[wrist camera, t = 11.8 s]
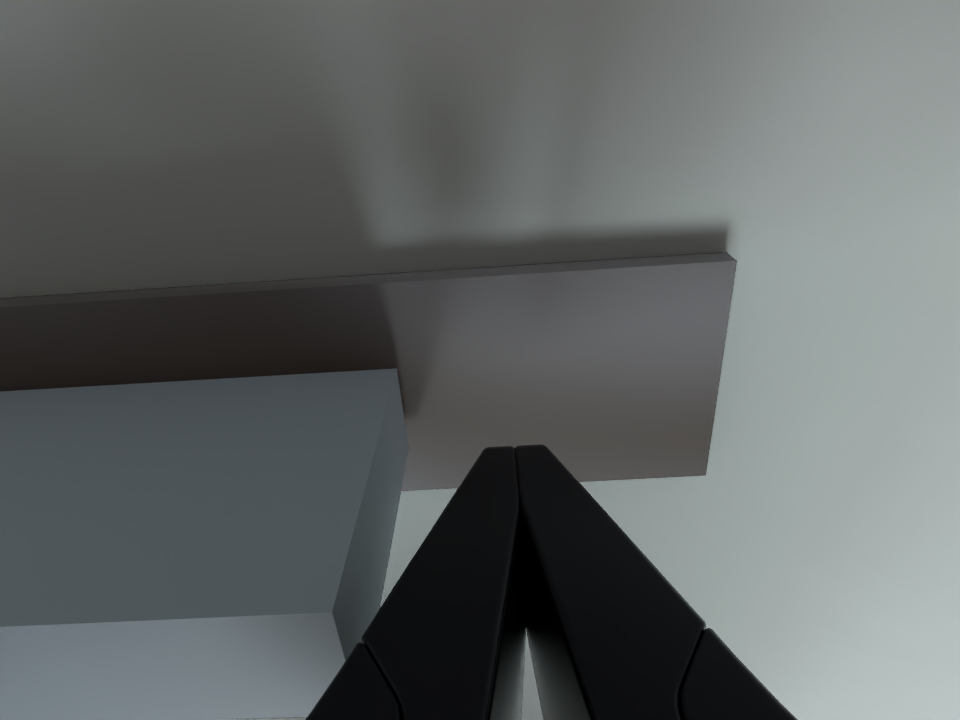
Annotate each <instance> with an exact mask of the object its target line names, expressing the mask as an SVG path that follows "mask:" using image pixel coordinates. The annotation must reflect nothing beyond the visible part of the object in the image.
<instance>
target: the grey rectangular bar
mask: <svg viewBox="0 0 960 720" xmlns="http://www.w3.org/2000/svg"><path fill="white" fill-rule="evenodd" d="M736 263H737V260H735V259H734V258H733V257H732V256H731V255H729V254H728V253H727V252H724V253H708V254H693V255H677V256H661V257H645V258H630V259H614V260H598V261H583V262H567V263H551V264H536V265H520V266H504V267H488V268H473V269H457V270H441V271H426V272H410V273H394V274H378V275H363V276H347V277H331V278H316V279H300V280H284V281H268V282H253V283H237V284H221V285H206V286H190V287H174V288H159V289H143V290H127V291H111V292H96V293H80V294H64V295H49V296H33V297H17V298H1V299H0V392H1V391H18V390H35V389H53V388H70V387H87V386H104V385H122V384H139V383H156V382H173V381H190V380H208V379H225V378H242V377H259V376H276V375H294V374H311V373H328V372H345V371H362V370H380V369H397V373H398V380H399V386H400V393H401V399H402V406H403V412H404V419H405V425H406V432H407V438H408V445H409V450H408V455H407V461H406V466H405V472H404V477H403V483H402V488H401V491H408V490H428V489H448V488H459V486H460V485H461V483H462V482H463V480H464V479H465V477H466V476H467V474H468V472H469V471H470V469H471V468H472V466H473V465H474V463H475V462H476V460H477V459H478V457H479V456H480V454H481V452H482V451H483V450H484V449H485V448H487V447H499V446H513V447H514V448H515V447H517V446H519V445H538V444H542V445H545V446H547V447H548V448H549V450H550V451H551V452H552V453H553V454H554V455H555V456H556V457H557V458H558V460H559V461H560V462H561V463H562V464H563V465H564V466H565V467H566V468H567V470H568V471H569V472H570V473H571V474H572V475H573V476H574V477H575V478H576V480H577V481H578V482H585V481H605V480H624V479H644V478H664V477H683V476H703V475H706V470H707V463H708V456H709V449H710V442H711V435H712V428H713V422H714V415H715V408H716V401H717V394H718V387H719V380H720V373H721V366H722V360H723V353H724V346H725V339H726V332H727V325H728V318H729V311H730V304H731V297H732V291H733V284H734V277H735V270H736Z"/></svg>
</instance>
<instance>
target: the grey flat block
mask: <svg viewBox="0 0 960 720" xmlns="http://www.w3.org/2000/svg"><path fill="white" fill-rule="evenodd" d="M408 450H409V445H408V438H407V432H406V425H405V419H404V412H403V406H402V399H401V393H400V386H399V380H398V373H397V369H380V370H362V371H345V372H328V373H311V374H294V375H276V376H259V377H242V378H225V379H208V380H190V381H173V382H156V383H139V384H122V385H104V386H87V387H70V388H53V389H35V390H18V391H1V392H0V720H233V719H259V718H285V717H308V715H309V714H310V712H311V711H312V710H313V708H314V707H315V705H316V704H317V702H318V701H319V699H320V698H321V697H322V695H323V694H324V692H325V691H326V689H327V688H328V687H329V685H330V684H331V682H332V681H333V679H334V678H335V676H336V675H337V673H338V672H339V670H340V669H341V667H342V666H343V664H344V663H345V661H346V659H347V658H348V656H349V655H350V653H351V652H352V650H353V649H354V647H355V645H356V644H357V643H359V642H361V643H362V641H361V638H362V635H363V634H364V632H365V631H366V629H367V628H368V626H369V625H370V623H371V622H372V620H373V619H374V617H375V615H376V614H377V612H378V611H379V609H380V603H381V598H382V592H383V587H384V581H385V576H386V570H387V565H388V559H389V554H390V548H391V543H392V537H393V532H394V526H395V521H396V516H397V510H398V505H399V499H400V494H401V488H402V483H403V477H404V472H405V466H406V461H407V455H408Z"/></svg>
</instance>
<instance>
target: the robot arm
mask: <svg viewBox="0 0 960 720" xmlns="http://www.w3.org/2000/svg"><path fill="white" fill-rule="evenodd" d="M526 630H527V637H528V642H529V647H530V652H531V657H532V663H533V668H534V673H535V678H536V683H537V689H538V694H539V699H540V704H541V710H542V715H543V720H797V719H796V718H795V717H794V716H793V715H792V714H791V713H790V712H789V711H788V710H787V709H786V708H785V707H784V706H783V705H782V704H781V703H780V702H779V701H778V700H777V699H776V698H775V697H774V696H773V695H772V694H771V693H770V692H769V691H768V690H767V689H766V688H765V686H764V685H763V684H762V683H761V682H760V681H759V680H758V679H757V678H756V677H755V676H754V675H753V674H752V673H751V672H750V671H749V670H748V669H747V667H746V666H745V665H744V664H743V663H742V662H741V661H740V660H739V659H738V658H737V657H736V656H735V655H734V654H733V652H732V651H731V650H730V649H729V648H728V647H727V646H726V645H725V644H724V642H723V641H722V640H721V639H720V638H719V637H718V636H717V635H716V633H715V632H714V631H713V630H712V629H710V628H707V629H706V623H705V622H704V621H703V619H702V618H701V617H700V616H699V615H698V614H697V613H696V612H695V611H694V609H693V608H692V607H691V606H690V605H689V604H688V603H687V602H686V601H685V599H684V598H683V597H682V596H681V595H680V594H679V593H678V592H677V591H676V589H675V588H674V587H673V586H672V585H671V584H670V583H669V582H668V581H667V579H666V578H665V577H664V576H663V575H662V574H661V573H660V572H659V571H658V569H657V568H656V567H655V566H654V565H653V564H652V563H651V562H650V561H649V559H648V558H647V557H646V556H645V555H644V554H643V553H642V552H641V551H640V549H639V548H638V547H637V546H636V545H635V544H634V543H633V542H632V541H631V539H630V538H629V537H628V536H627V535H626V534H625V533H624V532H623V531H622V529H621V528H620V527H619V526H618V525H617V524H616V523H615V522H614V521H613V519H612V518H611V517H610V516H609V515H608V514H607V513H606V512H605V511H604V509H603V508H602V507H601V506H600V505H599V504H598V503H597V502H596V501H595V499H594V498H593V497H592V496H591V495H590V494H589V493H588V492H587V491H586V489H585V488H584V487H583V486H582V485H581V484H580V483H579V482H578V481H577V480H576V478H575V477H574V476H573V475H572V474H571V473H570V472H569V471H568V470H567V468H566V467H565V466H564V465H563V464H562V463H561V462H560V461H559V460H558V458H557V457H556V456H555V455H554V454H553V453H552V452H551V451H550V450H549V448H548V447H547V446H545V445H542V444H538V445H519V446H517V447H515V448H514V447H513V446H499V447H487V448H485V449H484V450H483V451H482V452H481V454H480V456H479V457H478V459H477V460H476V462H475V463H474V465H473V466H472V468H471V469H470V471H469V472H468V474H467V476H466V477H465V479H464V480H463V482H462V483H461V485H460V486H459V488H458V489H457V491H456V492H455V494H454V496H453V497H452V499H451V500H450V502H449V503H448V505H447V506H446V508H445V509H444V511H443V512H442V514H441V516H440V517H439V519H438V520H437V522H436V523H435V525H434V526H433V528H432V529H431V531H430V532H429V534H428V536H427V537H426V539H425V540H424V542H423V543H422V545H421V546H420V548H419V549H418V551H417V552H416V554H415V555H414V557H413V559H412V560H411V562H410V563H409V565H408V566H407V568H406V569H405V571H404V572H403V574H402V575H401V577H400V579H399V580H398V582H397V583H396V585H395V586H394V588H393V589H392V591H391V592H390V594H389V595H388V597H387V599H386V600H385V602H384V603H383V605H382V606H381V608H380V609H379V611H378V612H377V614H376V615H375V617H374V619H373V620H372V622H371V623H370V625H369V626H368V628H367V629H366V631H365V632H364V634H363V635H362V638H361V641H362V643H361V642H359V643H357V644H356V645H355V647H354V649H353V650H352V652H351V653H350V655H349V656H348V658H347V659H346V661H345V663H344V664H343V666H342V667H341V669H340V670H339V672H338V673H337V675H336V676H335V678H334V679H333V681H332V682H331V684H330V685H329V687H328V688H327V689H326V691H325V692H324V694H323V695H322V697H321V698H320V699H319V701H318V702H317V704H316V705H315V707H314V708H313V710H312V711H311V712H310V714H309V715H308V717H307V718H306V720H521V714H522V695H523V677H524V658H525V640H526Z"/></svg>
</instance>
